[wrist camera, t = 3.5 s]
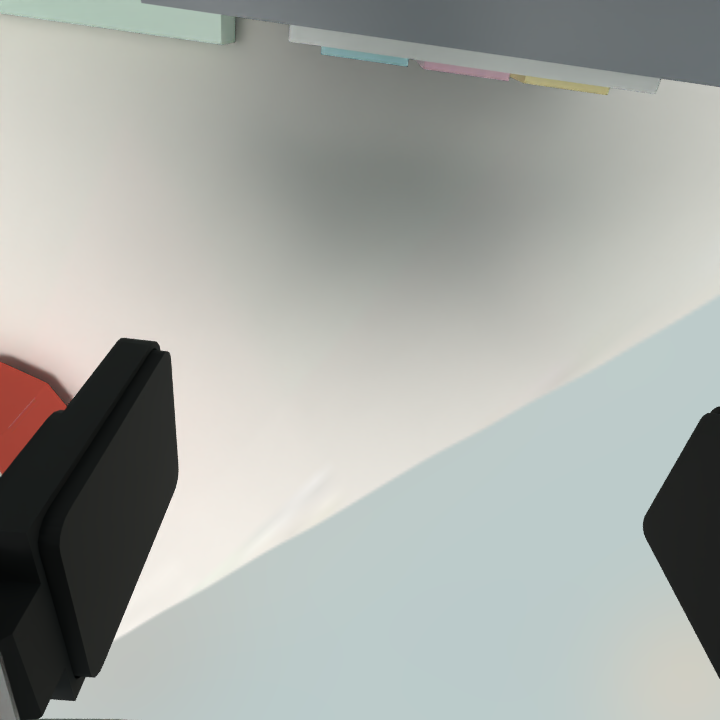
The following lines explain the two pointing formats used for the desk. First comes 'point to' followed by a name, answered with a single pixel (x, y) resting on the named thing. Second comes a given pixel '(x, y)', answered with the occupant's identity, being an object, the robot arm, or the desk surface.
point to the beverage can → (22, 410)
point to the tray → (129, 18)
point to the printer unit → (508, 37)
